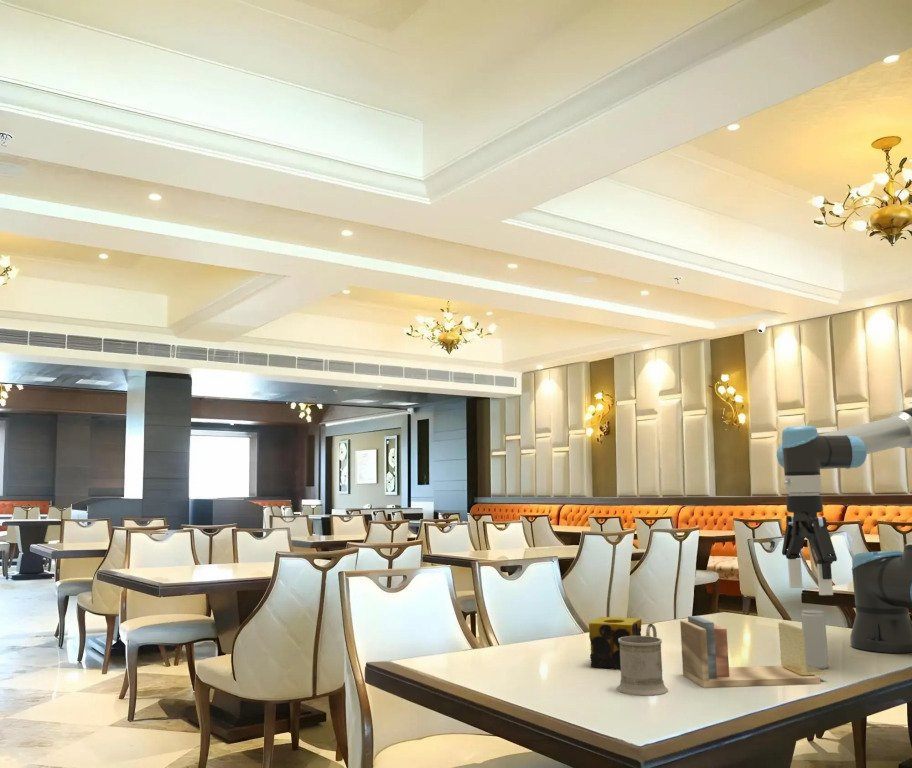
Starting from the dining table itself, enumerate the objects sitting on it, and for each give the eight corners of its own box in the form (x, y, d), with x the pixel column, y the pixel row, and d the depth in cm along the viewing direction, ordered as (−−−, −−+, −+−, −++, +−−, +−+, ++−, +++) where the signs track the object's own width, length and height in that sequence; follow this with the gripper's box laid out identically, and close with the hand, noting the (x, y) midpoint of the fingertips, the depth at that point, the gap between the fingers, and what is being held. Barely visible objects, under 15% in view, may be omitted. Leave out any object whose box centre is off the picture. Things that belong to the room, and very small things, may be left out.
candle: (645, 662, 189) (643, 618, 190) (635, 671, 179) (633, 624, 181) (601, 659, 193) (599, 616, 194) (589, 668, 184) (588, 622, 185)
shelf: (792, 671, 177) (788, 612, 178) (820, 683, 165) (815, 621, 166) (683, 674, 175) (679, 615, 177) (703, 687, 163) (699, 624, 165)
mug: (658, 698, 156) (655, 632, 157) (609, 692, 161) (606, 629, 163) (681, 682, 168) (678, 622, 170) (635, 677, 173) (632, 619, 175)
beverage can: (818, 670, 177) (814, 613, 178) (800, 666, 181) (796, 610, 183) (833, 668, 179) (829, 611, 181) (815, 664, 183) (811, 608, 185)
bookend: (804, 665, 175) (801, 622, 177) (825, 674, 167) (822, 628, 168) (781, 666, 175) (778, 622, 176) (801, 675, 166) (798, 629, 167)
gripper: (763, 495, 197) (769, 585, 194) (814, 494, 173) (822, 598, 170) (793, 494, 198) (800, 584, 195) (849, 494, 173) (857, 597, 170)
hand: (810, 591), depth 182 cm, fingers open, 13 cm apart
